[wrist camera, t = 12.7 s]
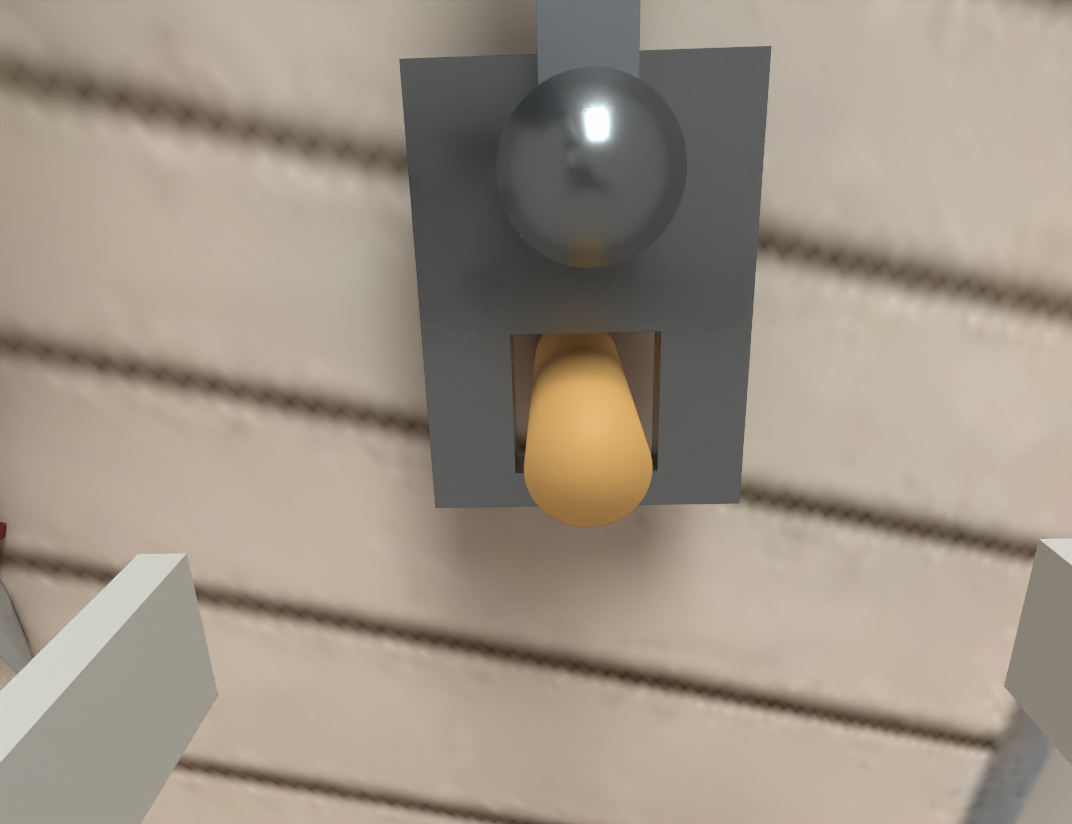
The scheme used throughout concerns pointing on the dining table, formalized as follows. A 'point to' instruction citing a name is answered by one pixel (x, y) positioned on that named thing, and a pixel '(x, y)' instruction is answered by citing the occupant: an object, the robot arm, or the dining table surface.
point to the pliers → (11, 630)
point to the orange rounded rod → (584, 433)
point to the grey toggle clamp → (587, 237)
